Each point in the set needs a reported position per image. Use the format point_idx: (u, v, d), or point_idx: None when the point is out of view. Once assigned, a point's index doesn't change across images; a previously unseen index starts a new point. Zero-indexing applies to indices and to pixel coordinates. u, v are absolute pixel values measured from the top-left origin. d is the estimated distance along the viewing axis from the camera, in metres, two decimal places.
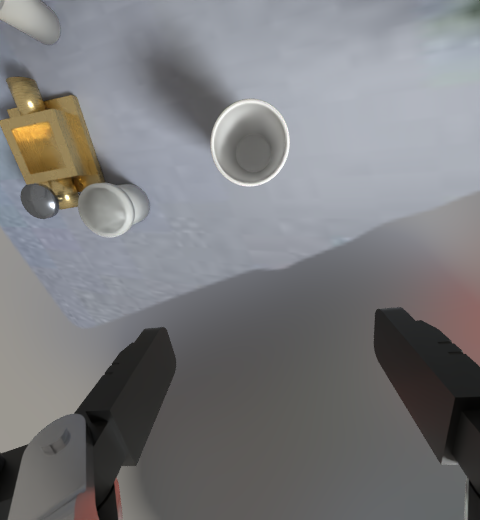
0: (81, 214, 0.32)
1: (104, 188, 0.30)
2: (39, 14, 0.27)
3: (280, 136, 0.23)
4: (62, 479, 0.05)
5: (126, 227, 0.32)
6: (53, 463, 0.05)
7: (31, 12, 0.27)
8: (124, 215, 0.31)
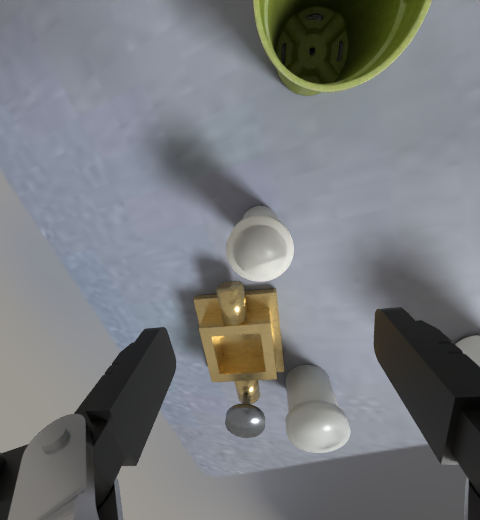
0: (288, 432, 0.28)
1: (327, 415, 0.26)
2: None
3: None
4: (62, 479, 0.05)
5: (339, 446, 0.28)
6: (53, 463, 0.05)
7: None
8: (341, 437, 0.27)
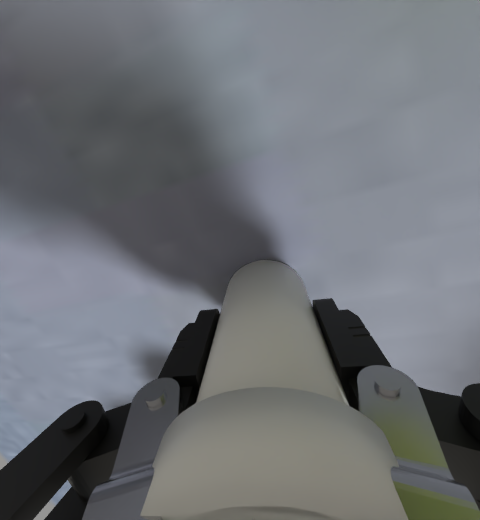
0: None
1: None
2: None
3: None
4: None
5: None
6: (152, 420, 0.05)
7: None
8: None
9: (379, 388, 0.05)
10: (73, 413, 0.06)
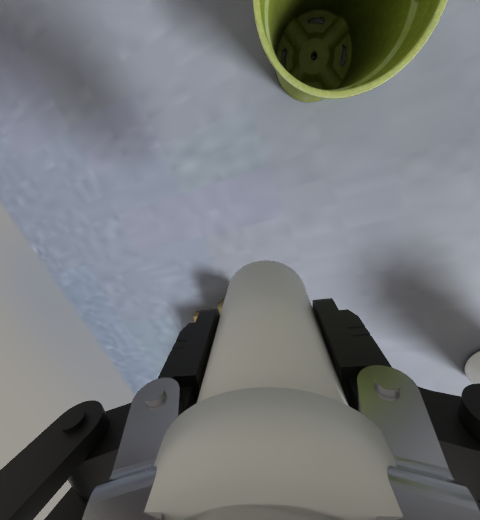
0: None
1: None
2: None
3: None
4: None
5: None
6: (152, 420, 0.05)
7: None
8: None
9: (379, 388, 0.05)
10: (73, 413, 0.06)
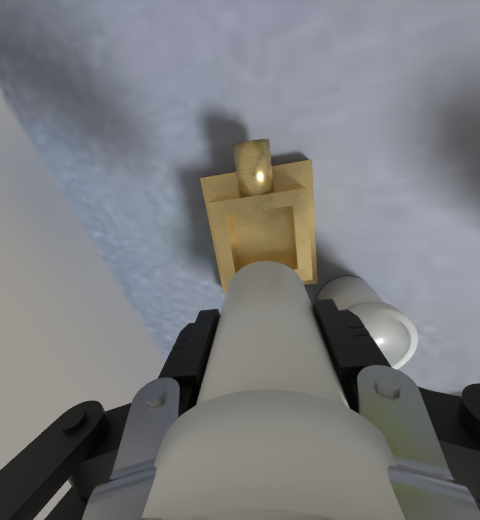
0: None
1: (387, 317, 0.19)
2: None
3: None
4: None
5: (399, 365, 0.21)
6: (152, 419, 0.05)
7: None
8: (404, 351, 0.20)
9: (379, 388, 0.05)
10: (73, 413, 0.06)
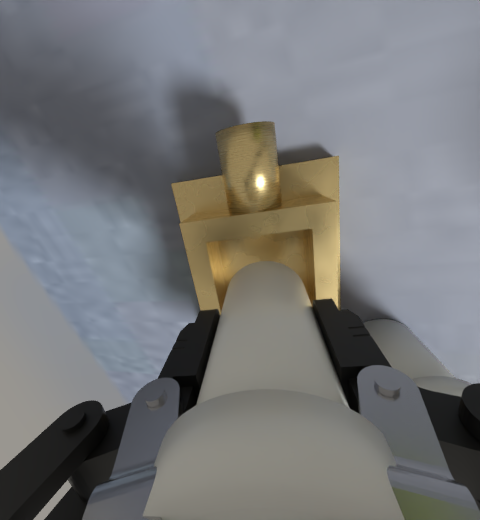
0: None
1: None
2: None
3: None
4: None
5: None
6: (152, 419, 0.05)
7: None
8: None
9: (379, 388, 0.05)
10: (72, 413, 0.06)
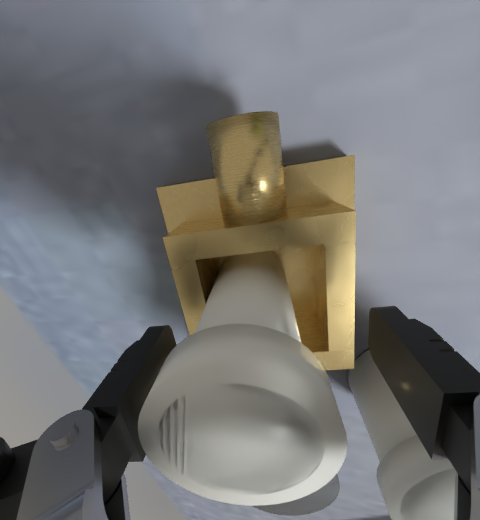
0: (393, 505, 0.11)
1: None
2: None
3: None
4: (73, 473, 0.05)
5: None
6: (63, 458, 0.05)
7: None
8: None
9: None
10: None
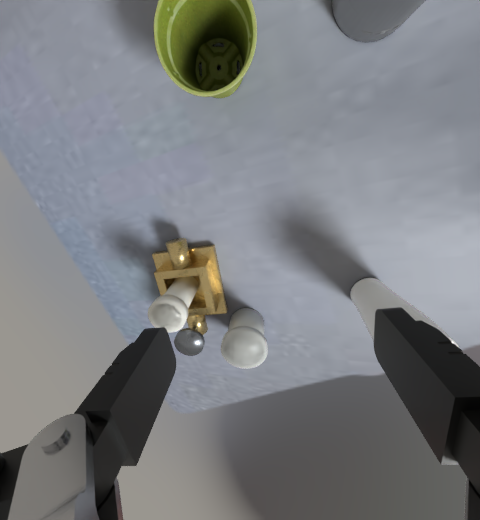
0: (223, 353, 0.37)
1: (246, 334, 0.35)
2: (193, 297, 0.37)
3: None
4: (62, 479, 0.05)
5: (262, 361, 0.37)
6: (53, 463, 0.05)
7: None
8: (261, 352, 0.36)
9: None
10: None
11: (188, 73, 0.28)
